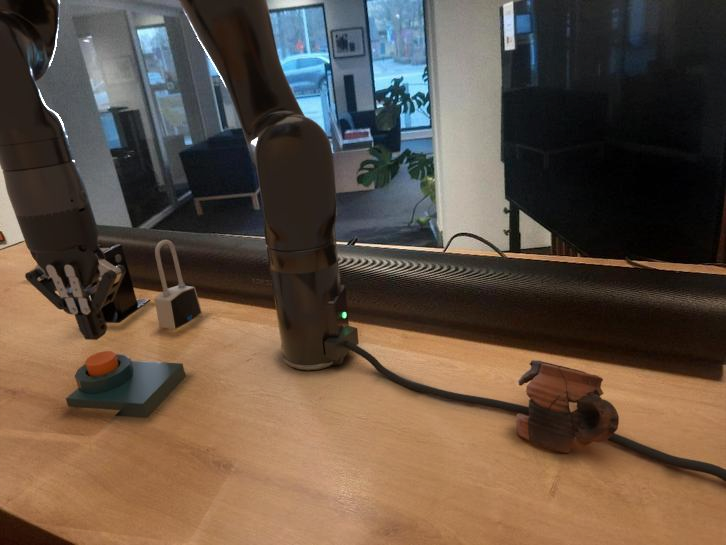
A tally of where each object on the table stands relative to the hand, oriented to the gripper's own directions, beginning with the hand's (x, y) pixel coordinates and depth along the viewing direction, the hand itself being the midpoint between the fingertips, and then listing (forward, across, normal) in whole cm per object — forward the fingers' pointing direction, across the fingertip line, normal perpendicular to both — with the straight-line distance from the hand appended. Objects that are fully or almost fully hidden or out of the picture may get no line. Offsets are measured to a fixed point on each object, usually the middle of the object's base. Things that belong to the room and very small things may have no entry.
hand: (96, 336), depth 63 cm
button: (+5, 0, 0) cm, 5 cm away
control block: (+8, +3, 0) cm, 9 cm away
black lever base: (+8, -15, +22) cm, 28 cm away
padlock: (+9, -1, +19) cm, 21 cm away
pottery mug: (+9, +56, -1) cm, 57 cm away
